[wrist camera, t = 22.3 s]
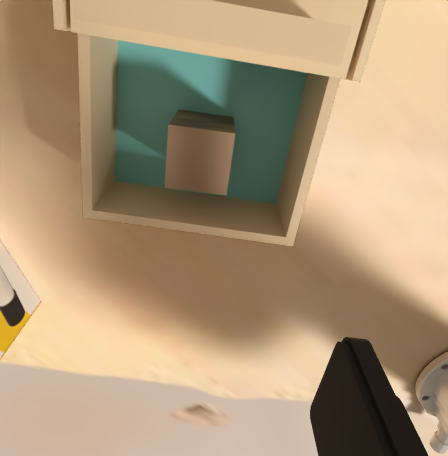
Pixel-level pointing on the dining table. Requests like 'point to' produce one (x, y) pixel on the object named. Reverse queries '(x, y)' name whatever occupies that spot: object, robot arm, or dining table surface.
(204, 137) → the walnut block
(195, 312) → the dining table surface
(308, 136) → the base
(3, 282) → the packaging box
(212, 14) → the lid
